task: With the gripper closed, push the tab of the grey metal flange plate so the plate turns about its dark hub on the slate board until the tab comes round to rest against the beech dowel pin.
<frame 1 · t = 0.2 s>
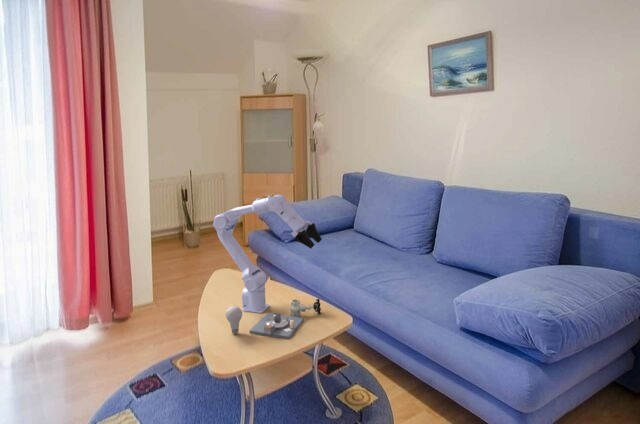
hand: (316, 243, 177), 31 cm above the table, tool tilted 45°, fingers open, 7 cm apart
lightbulb: (235, 334, 172), on the table
board: (277, 326, 177), on the table
valve: (305, 315, 187), on the table
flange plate: (274, 321, 174), point 3 cm above the table, hinge at 0.0°
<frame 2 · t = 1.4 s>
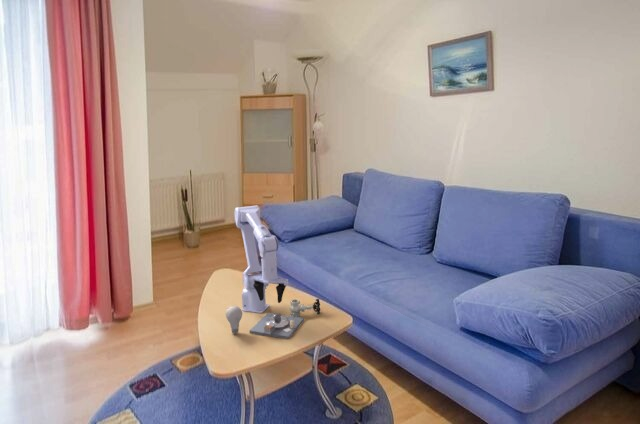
hand: (270, 300, 176), 10 cm above the table, tool pointing down, fingers open, 7 cm apart
nothing on the table moved.
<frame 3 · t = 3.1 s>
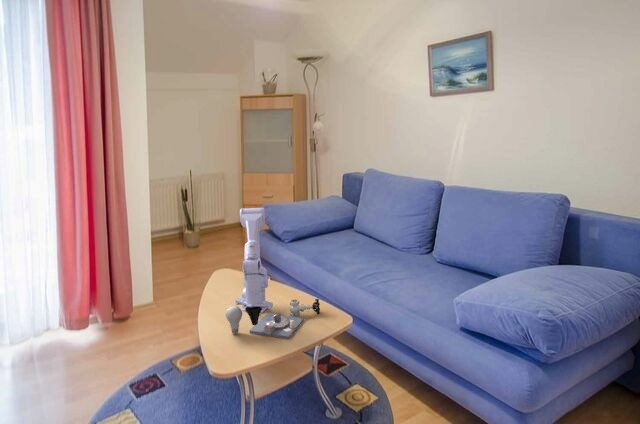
hand: (255, 324, 171), 4 cm above the table, tool pointing down, fingers closed
nothing on the table moved.
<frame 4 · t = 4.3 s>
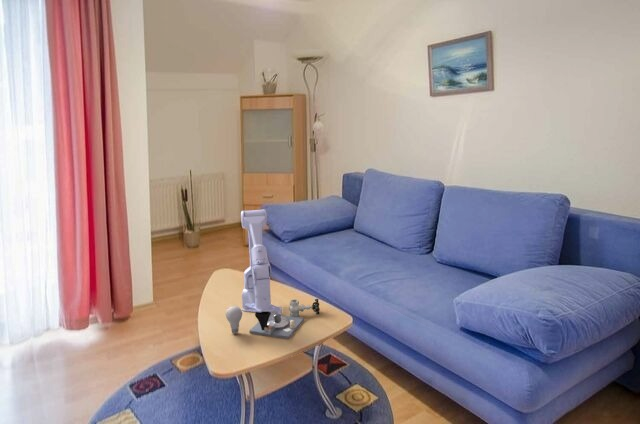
hand: (264, 329, 171), 2 cm above the table, tool pointing down, fingers closed, pressing on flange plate
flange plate: (274, 321, 174), point 3 cm above the table, hinge at 0.0°, touching gripper
everything else where it was.
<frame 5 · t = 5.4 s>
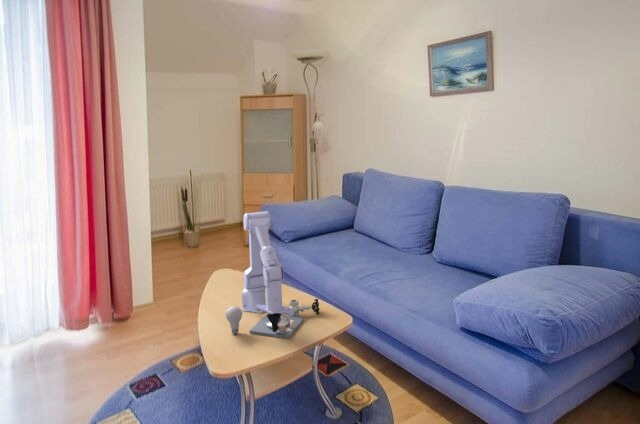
hand: (275, 330, 169), 2 cm above the table, tool pointing down, fingers closed, pressing on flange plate
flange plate: (278, 321, 174), point 3 cm above the table, hinge at 36.7°, touching gripper
everything else where it was.
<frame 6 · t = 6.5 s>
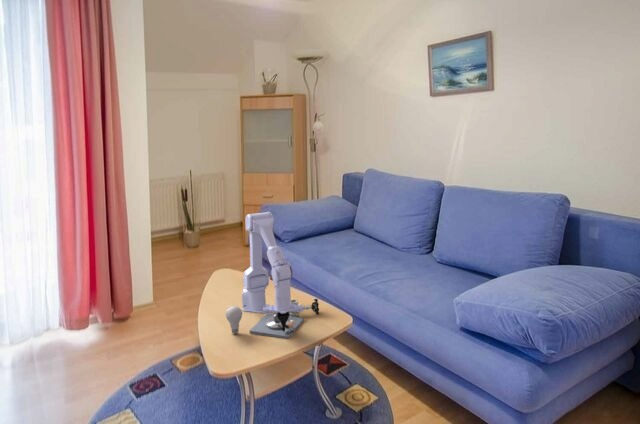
hand: (283, 330, 170), 2 cm above the table, tool pointing down, fingers closed, pressing on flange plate
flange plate: (280, 320, 174), point 3 cm above the table, hinge at 61.0°, touching board, gripper
everything else where it was.
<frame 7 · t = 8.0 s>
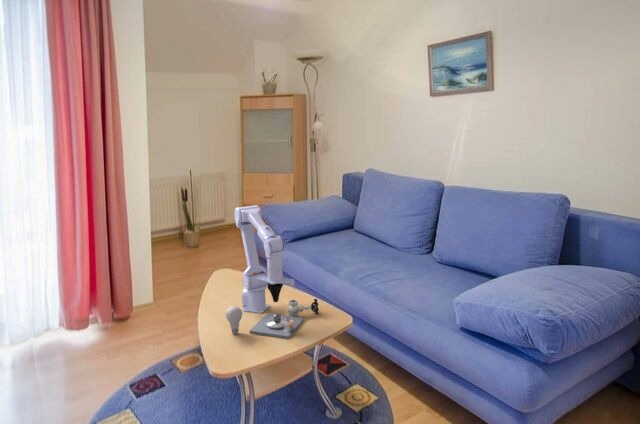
hand: (276, 301, 176), 10 cm above the table, tool pointing down, fingers closed
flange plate: (280, 320, 174), point 3 cm above the table, hinge at 61.1°, touching board
everything else where it was.
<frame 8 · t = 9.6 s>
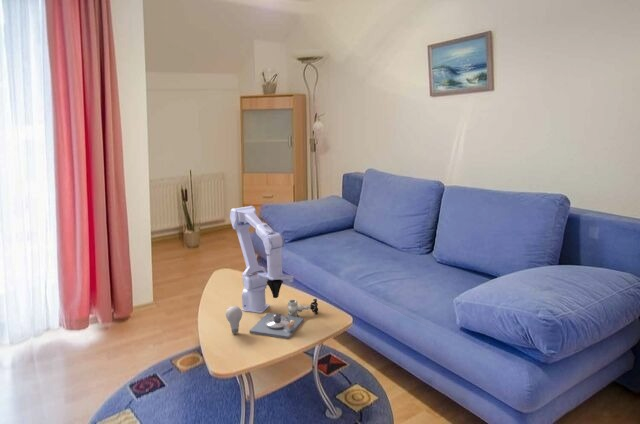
hand: (275, 297, 179), 10 cm above the table, tool pointing down, fingers closed
at the end: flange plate at +61° (first picture: +0°); valve moved 1.3 cm from its start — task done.
